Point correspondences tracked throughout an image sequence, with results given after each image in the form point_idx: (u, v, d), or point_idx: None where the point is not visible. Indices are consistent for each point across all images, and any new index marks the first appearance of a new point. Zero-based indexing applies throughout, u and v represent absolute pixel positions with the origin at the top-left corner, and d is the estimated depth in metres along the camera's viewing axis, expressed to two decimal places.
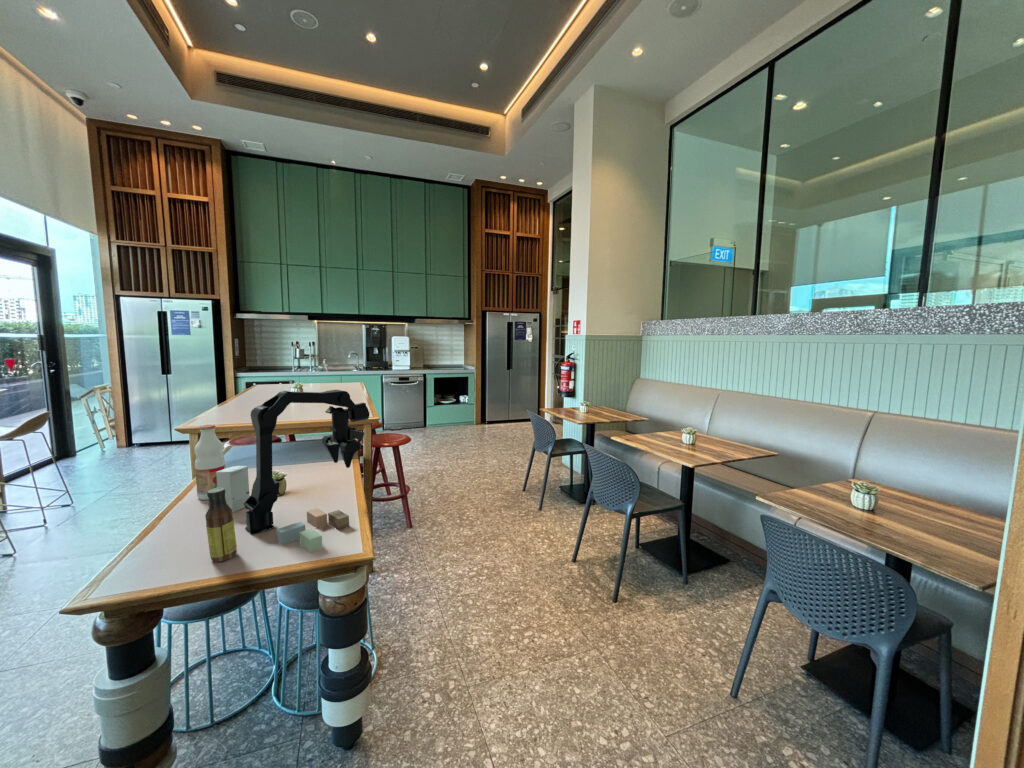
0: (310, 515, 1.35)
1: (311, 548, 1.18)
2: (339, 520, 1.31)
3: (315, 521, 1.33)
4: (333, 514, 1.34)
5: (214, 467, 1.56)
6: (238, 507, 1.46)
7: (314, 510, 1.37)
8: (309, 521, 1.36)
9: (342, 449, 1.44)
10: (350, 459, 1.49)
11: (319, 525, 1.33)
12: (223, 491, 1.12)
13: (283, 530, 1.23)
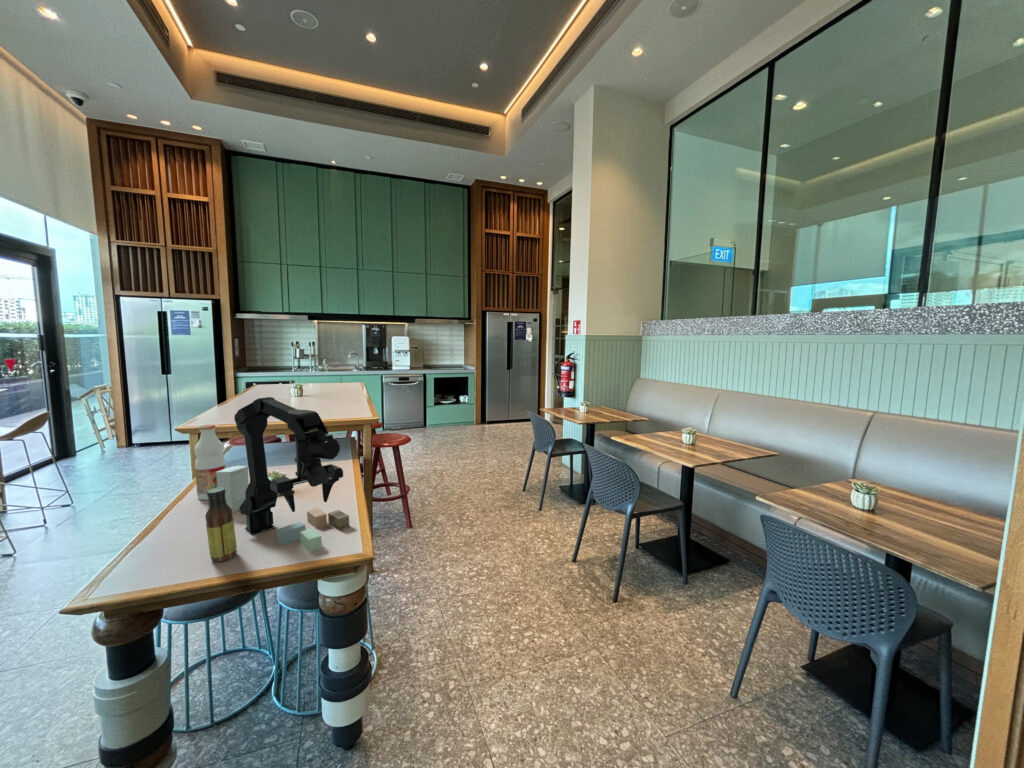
0: (310, 515, 1.35)
1: (311, 548, 1.18)
2: (339, 520, 1.31)
3: (315, 521, 1.33)
4: (333, 514, 1.34)
5: (214, 467, 1.56)
6: (238, 507, 1.46)
7: (314, 510, 1.37)
8: (309, 521, 1.36)
9: None
10: (290, 502, 1.15)
11: (319, 525, 1.33)
12: (223, 491, 1.12)
13: (283, 530, 1.23)
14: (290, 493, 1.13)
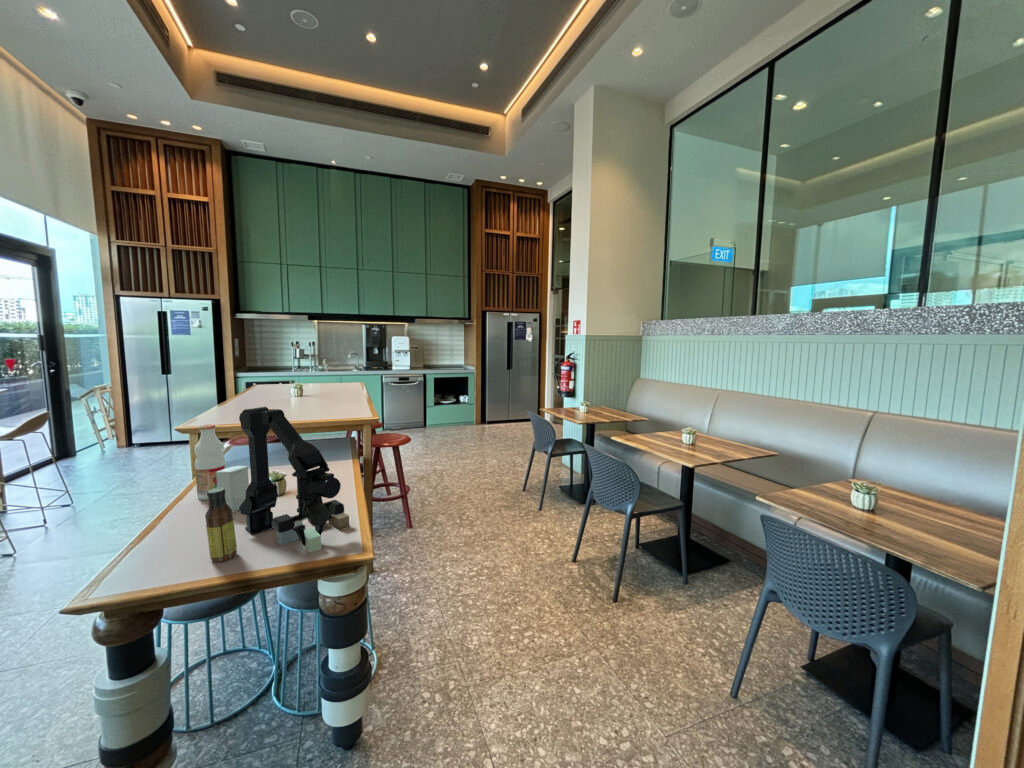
0: None
1: (310, 548, 1.18)
2: (339, 520, 1.31)
3: None
4: (333, 514, 1.34)
5: (214, 467, 1.56)
6: (238, 507, 1.46)
7: None
8: (309, 521, 1.36)
9: None
10: (301, 537, 1.18)
11: None
12: (223, 491, 1.12)
13: None
14: (301, 528, 1.16)
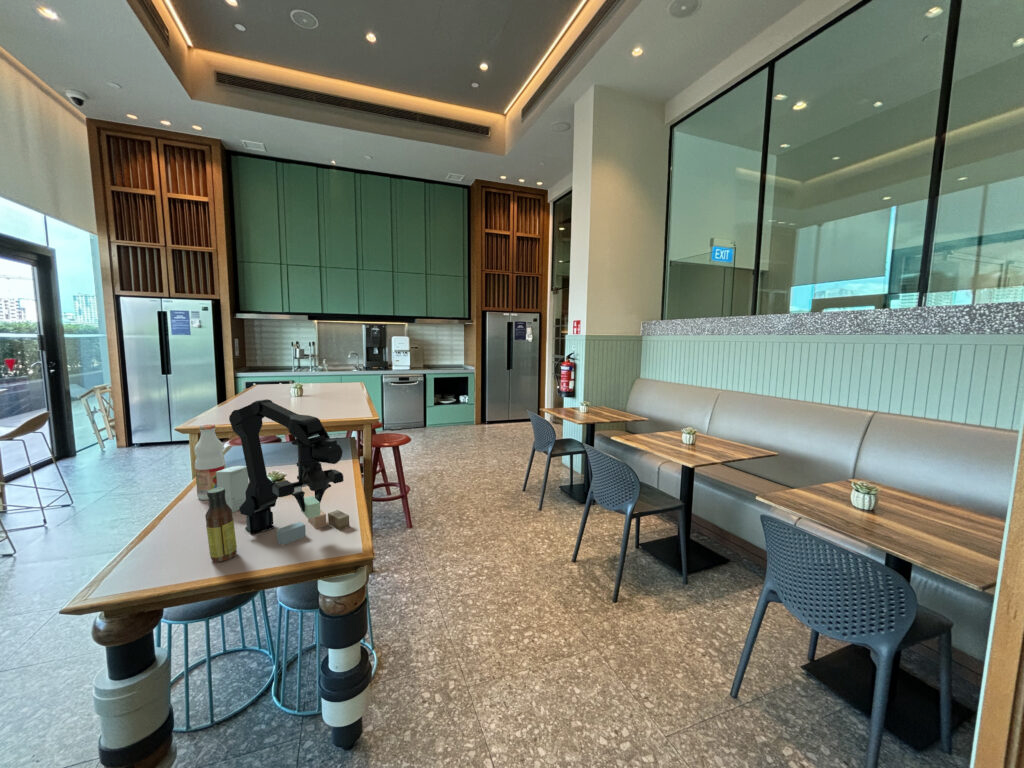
0: None
1: (309, 514, 1.20)
2: (340, 520, 1.31)
3: (314, 521, 1.33)
4: (333, 514, 1.34)
5: (214, 467, 1.56)
6: (238, 507, 1.46)
7: None
8: (309, 521, 1.36)
9: None
10: (300, 503, 1.21)
11: (318, 525, 1.33)
12: (223, 491, 1.12)
13: (283, 530, 1.23)
14: (300, 494, 1.19)
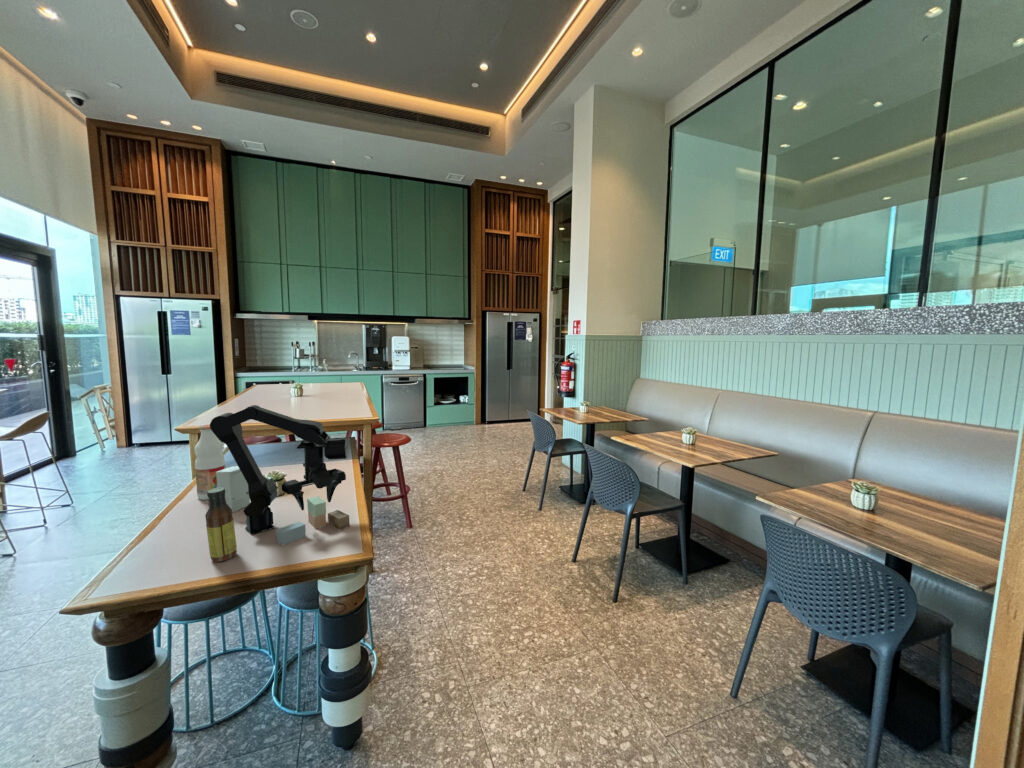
0: (310, 514, 1.35)
1: (316, 513, 1.32)
2: (340, 520, 1.31)
3: (314, 521, 1.33)
4: (333, 514, 1.34)
5: (214, 467, 1.56)
6: (238, 507, 1.46)
7: None
8: (309, 520, 1.36)
9: None
10: (300, 502, 1.31)
11: (317, 525, 1.33)
12: (223, 491, 1.12)
13: (283, 530, 1.23)
14: (300, 494, 1.29)
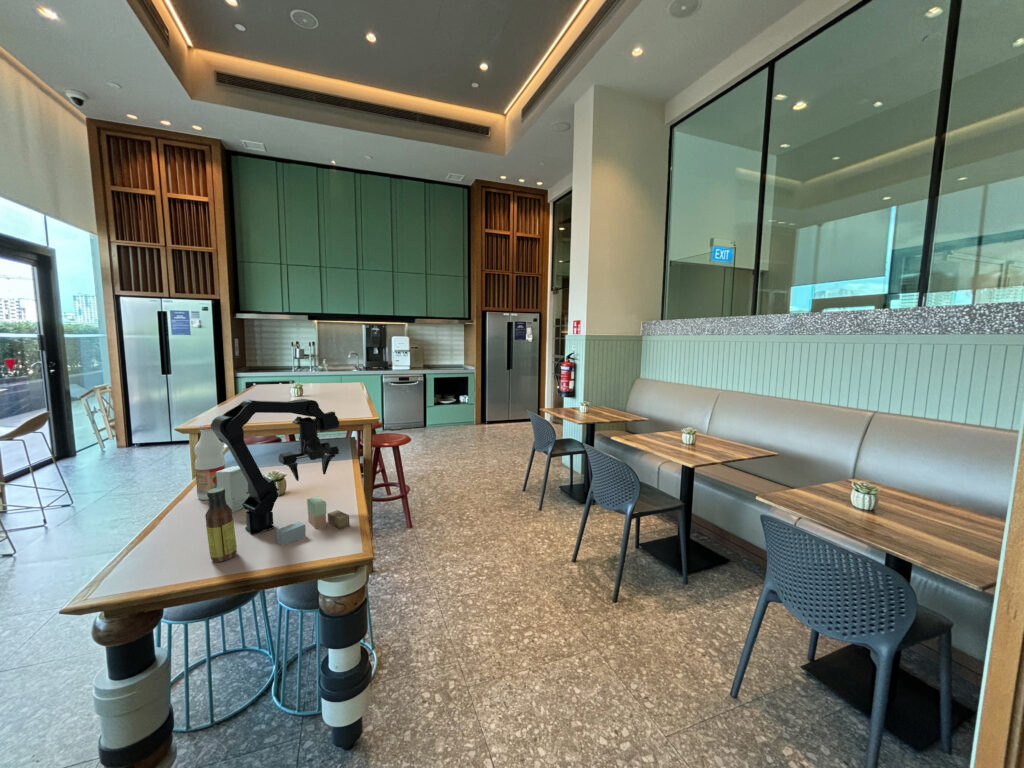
0: (310, 514, 1.35)
1: (316, 513, 1.33)
2: (340, 520, 1.31)
3: (314, 521, 1.33)
4: (333, 514, 1.34)
5: (214, 467, 1.56)
6: (238, 507, 1.46)
7: None
8: (310, 520, 1.36)
9: None
10: (294, 473, 1.41)
11: (317, 525, 1.33)
12: (223, 491, 1.12)
13: (284, 530, 1.23)
14: (294, 465, 1.39)
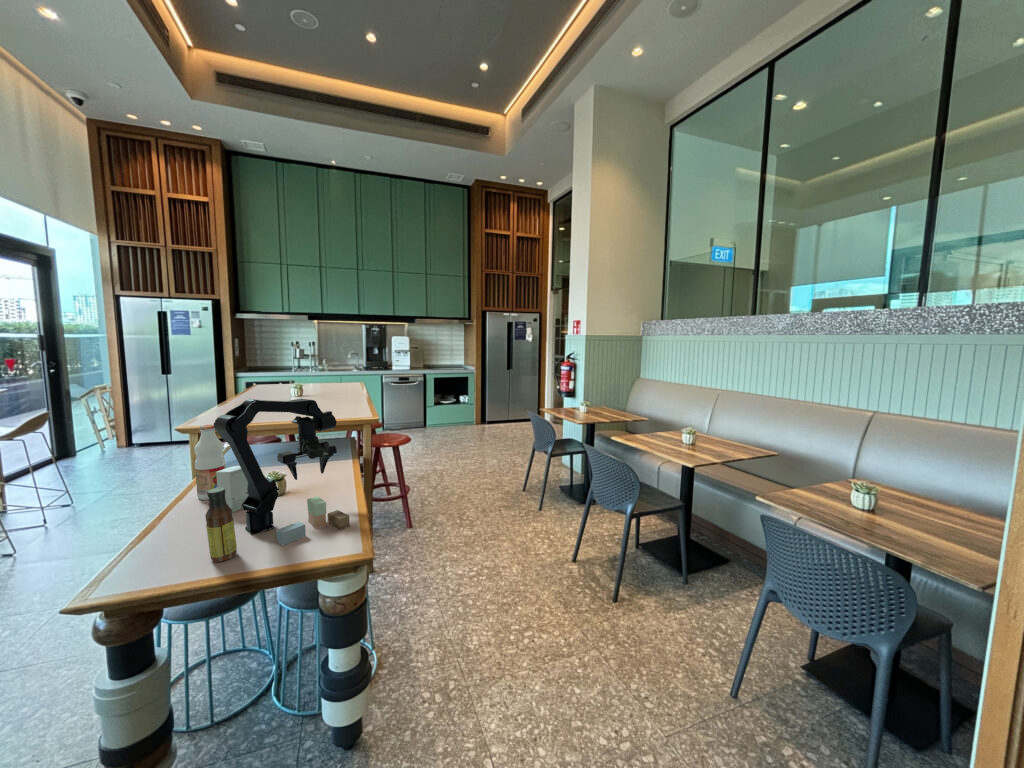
0: (310, 514, 1.35)
1: (316, 513, 1.33)
2: (340, 520, 1.31)
3: (314, 521, 1.33)
4: (333, 514, 1.34)
5: (214, 467, 1.56)
6: (238, 507, 1.46)
7: None
8: (310, 520, 1.36)
9: None
10: (293, 472, 1.42)
11: (317, 525, 1.33)
12: (223, 491, 1.12)
13: (284, 530, 1.23)
14: (293, 464, 1.40)
